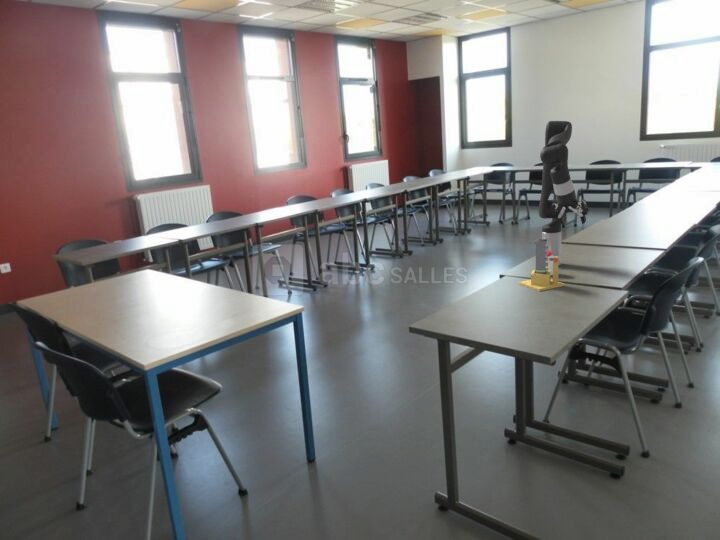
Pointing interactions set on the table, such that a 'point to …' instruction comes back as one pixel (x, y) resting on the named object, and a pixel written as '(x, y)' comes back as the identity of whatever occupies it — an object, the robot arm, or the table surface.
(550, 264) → the pill bottle
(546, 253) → the column
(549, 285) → the stand base
